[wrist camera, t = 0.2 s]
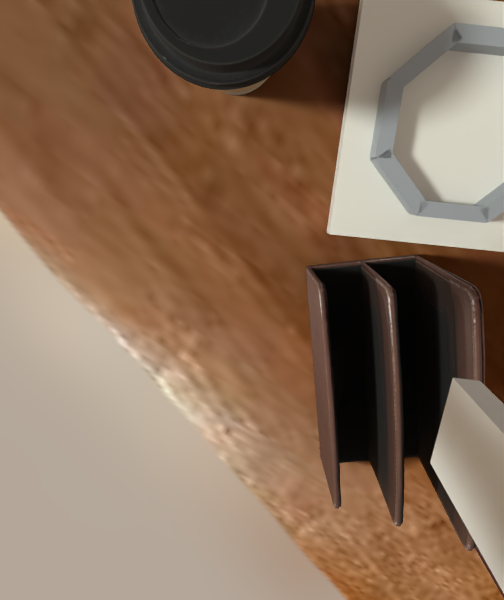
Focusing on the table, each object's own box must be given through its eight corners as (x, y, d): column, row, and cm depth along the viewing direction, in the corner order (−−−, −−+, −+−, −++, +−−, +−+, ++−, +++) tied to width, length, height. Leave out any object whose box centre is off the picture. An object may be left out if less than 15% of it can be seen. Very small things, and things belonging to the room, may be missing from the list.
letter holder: (417, 252, 39) (500, 292, 26) (420, 449, 45) (490, 569, 31) (304, 264, 40) (326, 309, 26) (319, 458, 45) (345, 579, 32)
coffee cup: (320, 36, 35) (362, -63, 20) (253, 143, 37) (248, 121, 23) (218, -42, 34) (186, -205, 19) (155, 74, 36) (83, 4, 21)
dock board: (360, -5, 34) (371, -25, 31) (595, 20, 34) (631, 2, 31) (326, 231, 39) (332, 237, 36) (532, 253, 39) (558, 260, 36)
